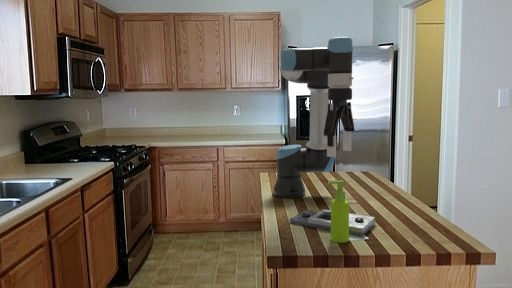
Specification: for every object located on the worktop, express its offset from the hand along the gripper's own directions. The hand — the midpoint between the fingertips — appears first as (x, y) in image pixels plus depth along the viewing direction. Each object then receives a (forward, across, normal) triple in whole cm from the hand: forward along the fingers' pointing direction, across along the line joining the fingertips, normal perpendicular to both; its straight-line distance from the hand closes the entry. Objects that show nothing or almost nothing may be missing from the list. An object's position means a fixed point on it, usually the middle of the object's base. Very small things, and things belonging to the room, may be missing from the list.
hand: (339, 153), depth 131 cm
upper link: (+29, +13, +4) cm, 32 cm away
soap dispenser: (+29, 0, 0) cm, 29 cm away
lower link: (+29, +13, +12) cm, 34 cm away
